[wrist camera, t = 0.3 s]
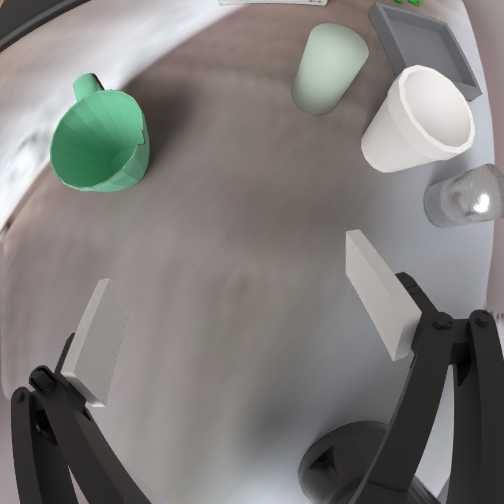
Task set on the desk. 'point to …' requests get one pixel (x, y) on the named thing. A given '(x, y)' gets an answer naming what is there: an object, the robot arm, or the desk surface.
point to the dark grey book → (29, 16)
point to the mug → (100, 139)
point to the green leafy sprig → (410, 1)
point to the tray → (423, 46)
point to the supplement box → (274, 1)
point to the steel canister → (466, 198)
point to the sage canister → (327, 67)
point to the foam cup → (418, 122)
